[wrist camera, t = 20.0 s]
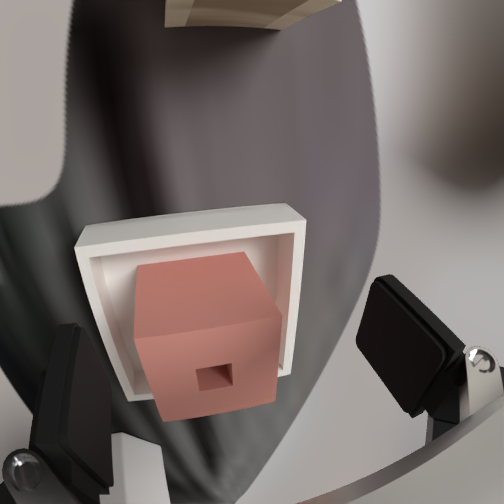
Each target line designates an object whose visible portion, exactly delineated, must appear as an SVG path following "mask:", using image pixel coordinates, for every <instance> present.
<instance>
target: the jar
mask: <svg viewBox="0 0 504 504" xmlns="http://www.w3.org/2000/svg"><path fill="white" fill-rule="evenodd" d="M111 438H112V461H113V476H114V485H113V487H109V491H110V495H100V504H170V499H169V493H168V488H167V482H166V476H165V470H164V464H163V457H162V450H161V446H159V445H157V444H154V443H151V442H148V441H145V440H142V439H139V438H136V437H134V436H131V435H128V434H126V433H123V432H119V433H114V434H111Z"/></svg>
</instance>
